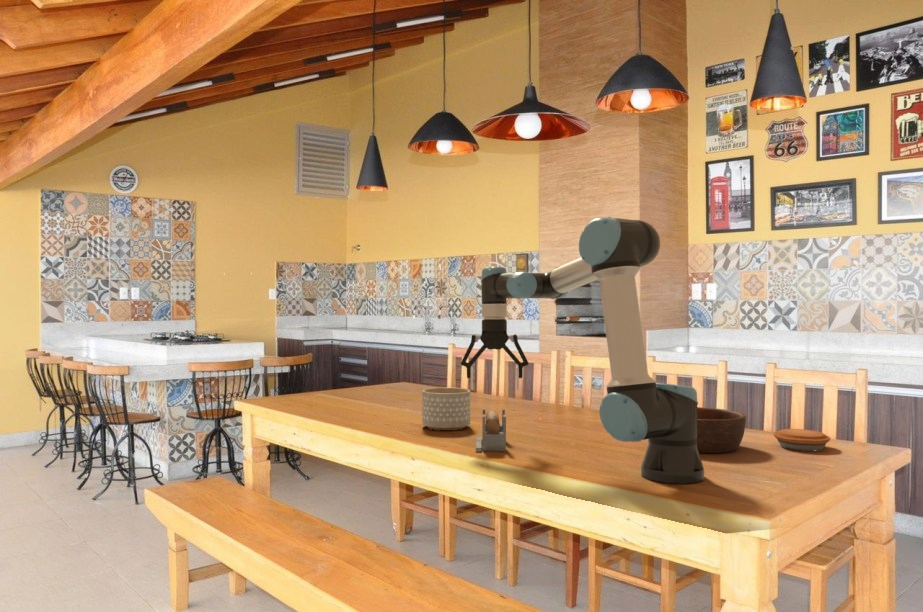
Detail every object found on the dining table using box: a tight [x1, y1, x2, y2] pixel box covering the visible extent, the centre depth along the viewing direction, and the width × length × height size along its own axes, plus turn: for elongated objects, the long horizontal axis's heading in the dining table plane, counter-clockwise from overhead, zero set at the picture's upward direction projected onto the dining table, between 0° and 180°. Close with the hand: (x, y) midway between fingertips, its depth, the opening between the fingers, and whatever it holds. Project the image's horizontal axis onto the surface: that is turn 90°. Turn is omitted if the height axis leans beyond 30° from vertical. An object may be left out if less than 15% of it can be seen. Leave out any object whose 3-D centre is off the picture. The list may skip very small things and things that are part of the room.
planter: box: [421, 387, 471, 431], centre depth 247 cm, size 16×16×13 cm
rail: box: [485, 410, 500, 435], centre depth 217 cm, size 19×4×4 cm, turn 178°
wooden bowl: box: [697, 406, 747, 454], centre depth 216 cm, size 25×25×10 cm
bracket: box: [475, 407, 507, 453], centre depth 217 cm, size 19×9×10 cm, turn 178°
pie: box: [772, 428, 831, 452], centre depth 216 cm, size 16×16×5 cm
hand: (494, 389), depth 217 cm, fingers open, 13 cm apart
